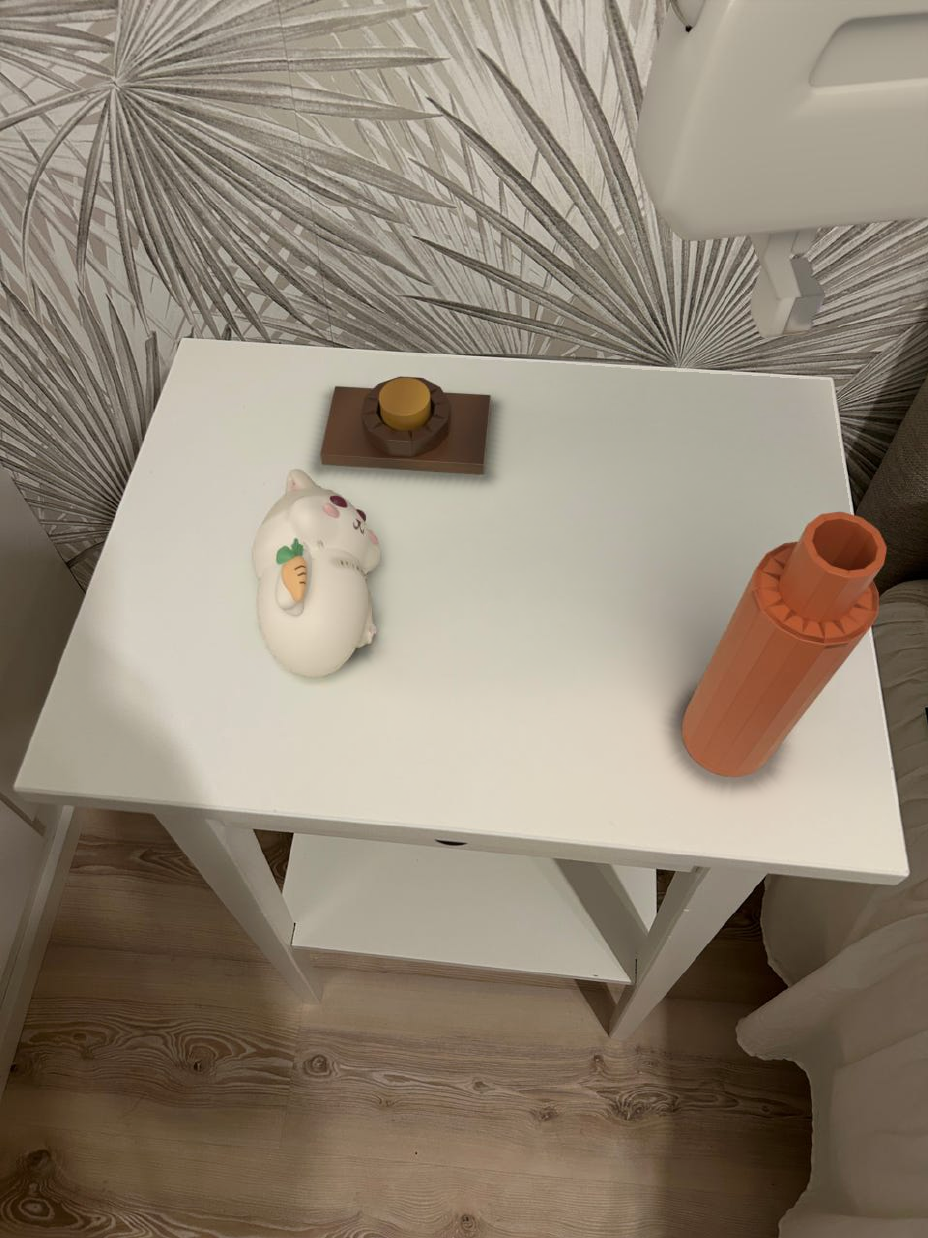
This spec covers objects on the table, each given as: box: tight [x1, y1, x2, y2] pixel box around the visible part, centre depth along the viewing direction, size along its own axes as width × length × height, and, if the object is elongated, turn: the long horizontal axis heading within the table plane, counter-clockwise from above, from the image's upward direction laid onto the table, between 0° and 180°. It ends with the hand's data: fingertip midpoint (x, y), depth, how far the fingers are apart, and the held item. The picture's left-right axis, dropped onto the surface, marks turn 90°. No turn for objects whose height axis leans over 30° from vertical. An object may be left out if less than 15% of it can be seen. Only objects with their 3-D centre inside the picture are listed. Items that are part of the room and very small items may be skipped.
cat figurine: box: [251, 468, 382, 678], centre depth 61 cm, size 10×8×15 cm
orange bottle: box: [681, 511, 888, 778], centre depth 50 cm, size 6×6×22 cm
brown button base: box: [319, 376, 492, 475], centre depth 72 cm, size 13×8×3 cm, turn 85°
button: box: [379, 378, 431, 431], centre depth 70 cm, size 4×4×2 cm
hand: (915, 308), depth 29 cm, fingers open, 8 cm apart
